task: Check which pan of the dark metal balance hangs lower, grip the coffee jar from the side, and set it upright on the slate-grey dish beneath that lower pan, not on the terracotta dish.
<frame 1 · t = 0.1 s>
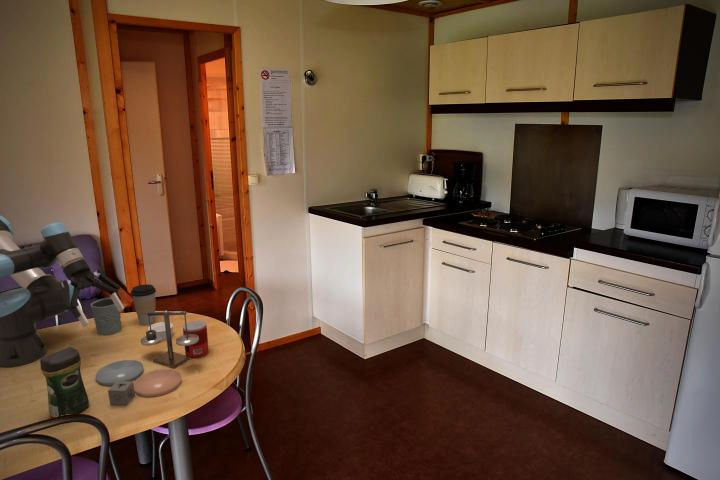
hand: (104, 317, 167), 15 cm above the table, tool tilted 35°, fingers open, 13 cm apart
canned food: (197, 353, 174), on the table
coffee cup: (147, 322, 200), on the table
terracotta dish: (157, 384, 154), on the table
ramekin: (161, 337, 187), on the table
balance: (171, 360, 169), on the table
dice cube: (122, 401, 146), on the table
coffee jar: (69, 410, 141), on the table
slate dish: (120, 374, 160), on the table
grey-green ceramic planter: (109, 330, 192), on the table
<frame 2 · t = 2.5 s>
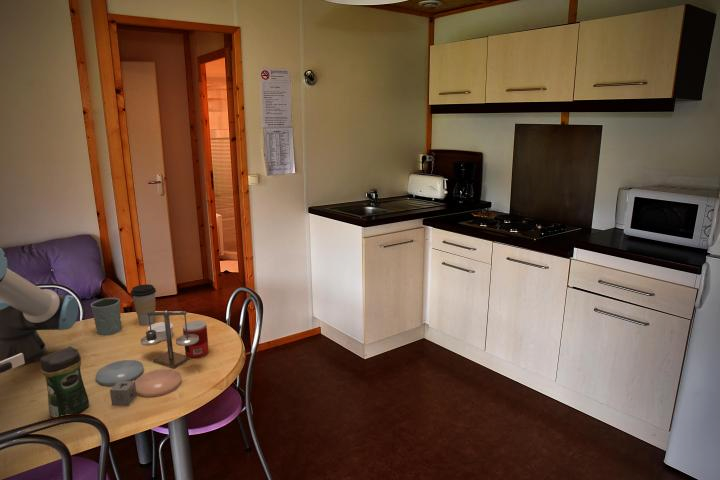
hand: (7, 352, 126), 23 cm above the table, tool horizontal, fingers open, 13 cm apart
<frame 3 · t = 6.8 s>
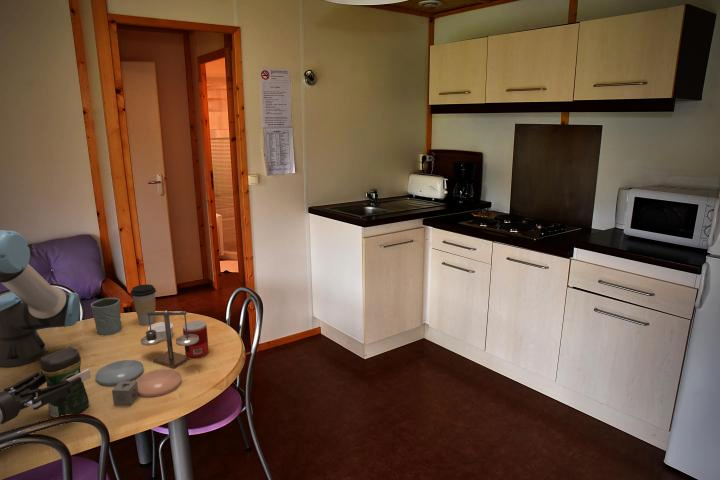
hand: (79, 369, 142), 11 cm above the table, tool horizontal, fingers closed on coffee jar, 8 cm apart
coffee jar: (69, 410, 141), on the table, touching gripper
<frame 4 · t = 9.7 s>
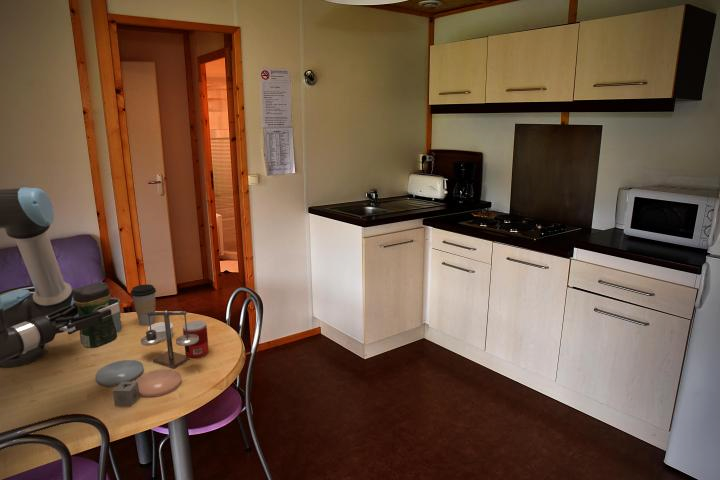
hand: (108, 304, 150), 26 cm above the table, tool horizontal, fingers closed on coffee jar, 8 cm apart
coffee jar: (99, 342, 149), point 15 cm above the table, touching gripper
when the fingers open (13 cm above the table, at t = 12.4 s): coffee jar drops 1 cm, resting on slate dish.
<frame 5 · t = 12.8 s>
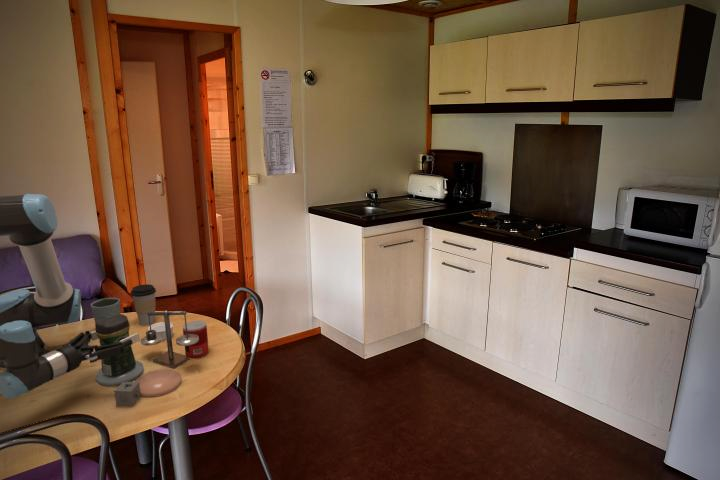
hand: (124, 332, 159), 13 cm above the table, tool horizontal, fingers open, 13 cm apart
coffee jar: (119, 370, 160), point 1 cm above the table, touching slate dish
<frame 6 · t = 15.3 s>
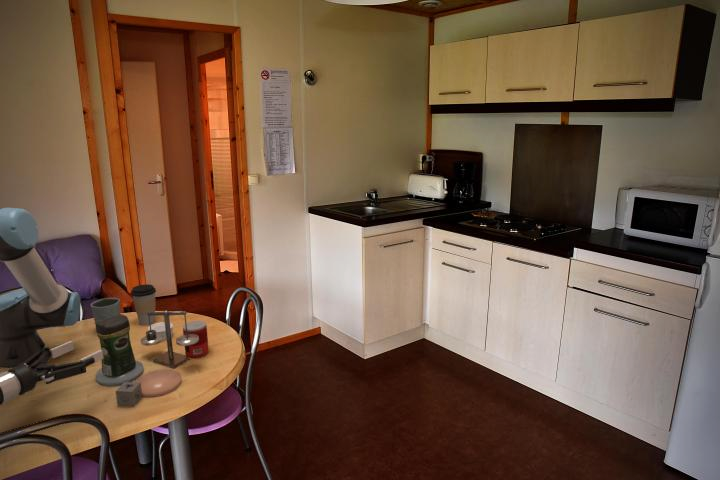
hand: (87, 349, 148), 14 cm above the table, tool horizontal, fingers open, 13 cm apart
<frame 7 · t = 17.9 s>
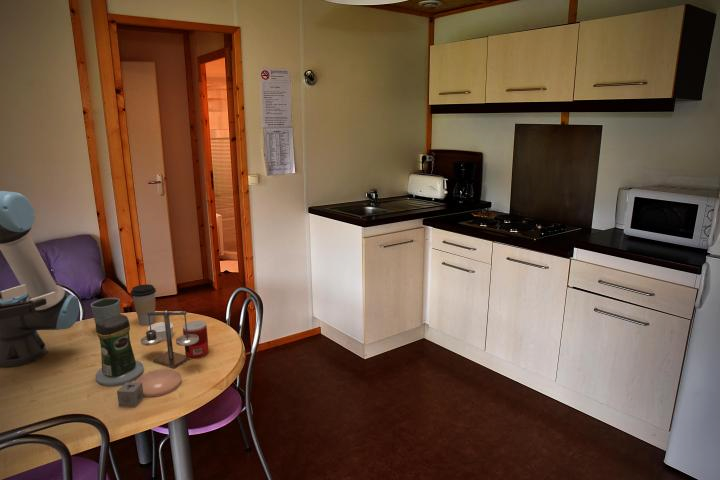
hand: (40, 292, 138), 34 cm above the table, tool horizontal, fingers open, 13 cm apart
at the end: coffee jar inside the target area on the slate dish (0.2 cm from its centre), point 1.3 cm above the slate dish's base; coffee jar tilted 0°; the gripper is holding nothing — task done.
